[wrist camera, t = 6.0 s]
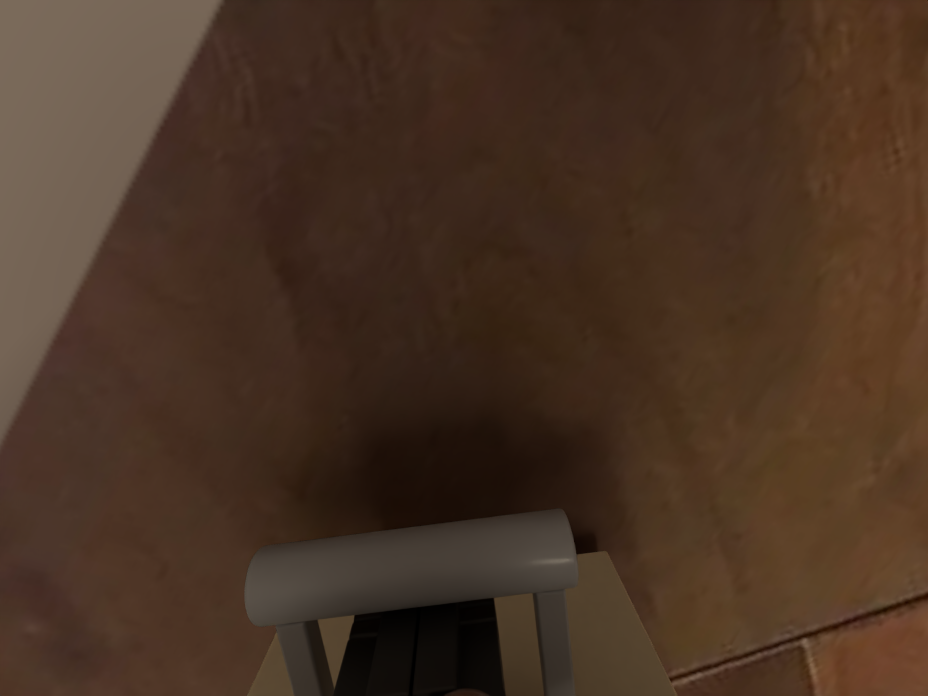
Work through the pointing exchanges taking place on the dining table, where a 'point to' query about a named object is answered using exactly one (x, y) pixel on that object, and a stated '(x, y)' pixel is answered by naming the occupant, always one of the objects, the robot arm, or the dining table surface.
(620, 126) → the dining table surface
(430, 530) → the drawer
